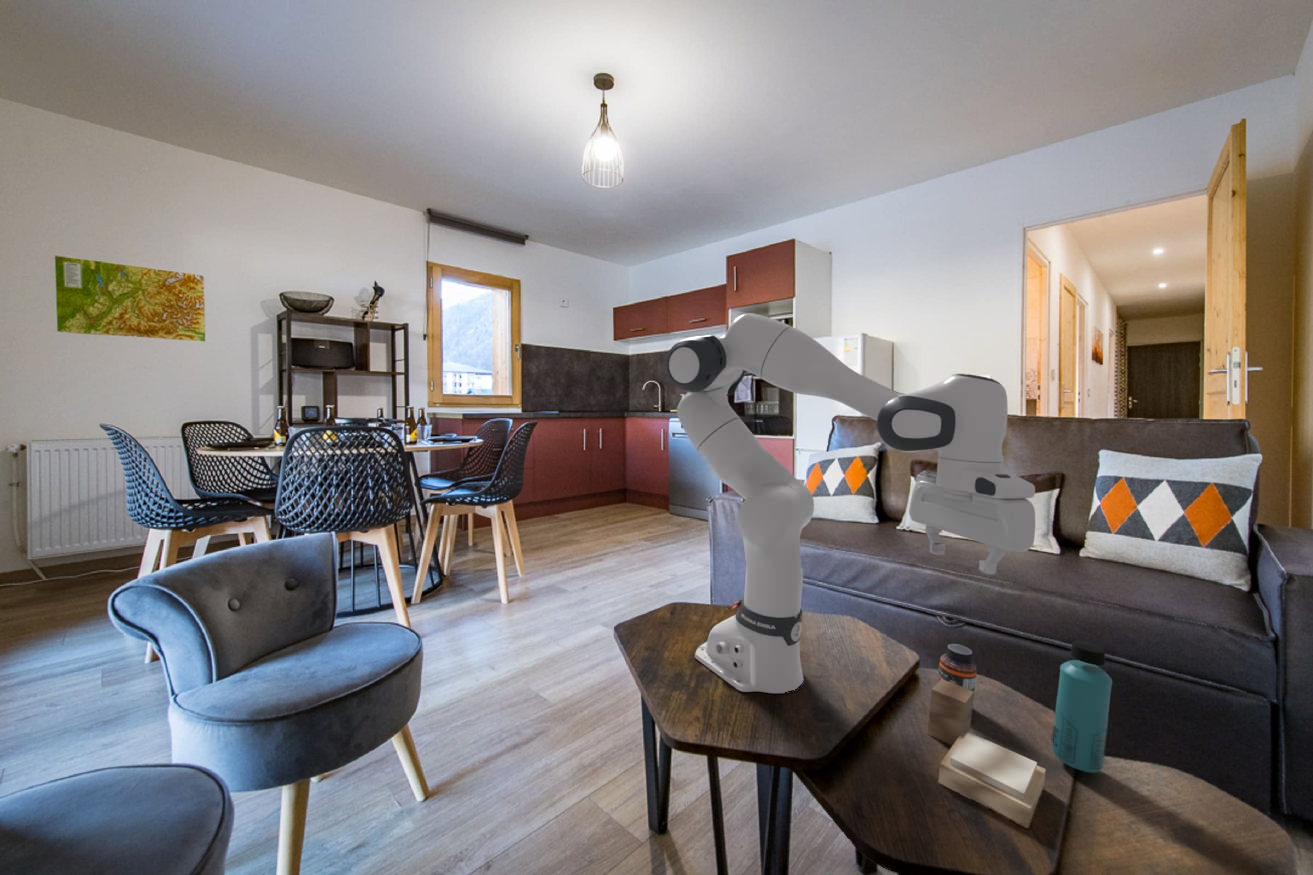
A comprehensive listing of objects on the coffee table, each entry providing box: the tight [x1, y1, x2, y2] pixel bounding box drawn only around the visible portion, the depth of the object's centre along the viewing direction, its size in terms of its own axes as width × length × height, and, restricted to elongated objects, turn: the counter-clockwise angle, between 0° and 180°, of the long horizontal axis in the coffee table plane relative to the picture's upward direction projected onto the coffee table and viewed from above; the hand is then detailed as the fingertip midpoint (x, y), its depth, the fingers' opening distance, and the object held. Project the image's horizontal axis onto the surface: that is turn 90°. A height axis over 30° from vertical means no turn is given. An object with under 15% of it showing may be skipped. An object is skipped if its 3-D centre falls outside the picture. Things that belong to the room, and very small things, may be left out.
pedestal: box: [938, 731, 1047, 828], centre depth 76 cm, size 11×11×4 cm
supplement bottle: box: [936, 643, 978, 708], centre depth 95 cm, size 6×6×11 cm
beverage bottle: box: [1050, 640, 1113, 774], centre depth 80 cm, size 6×7×20 cm
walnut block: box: [927, 679, 975, 747], centre depth 87 cm, size 5×5×8 cm
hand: (960, 562), depth 82 cm, fingers open, 8 cm apart
